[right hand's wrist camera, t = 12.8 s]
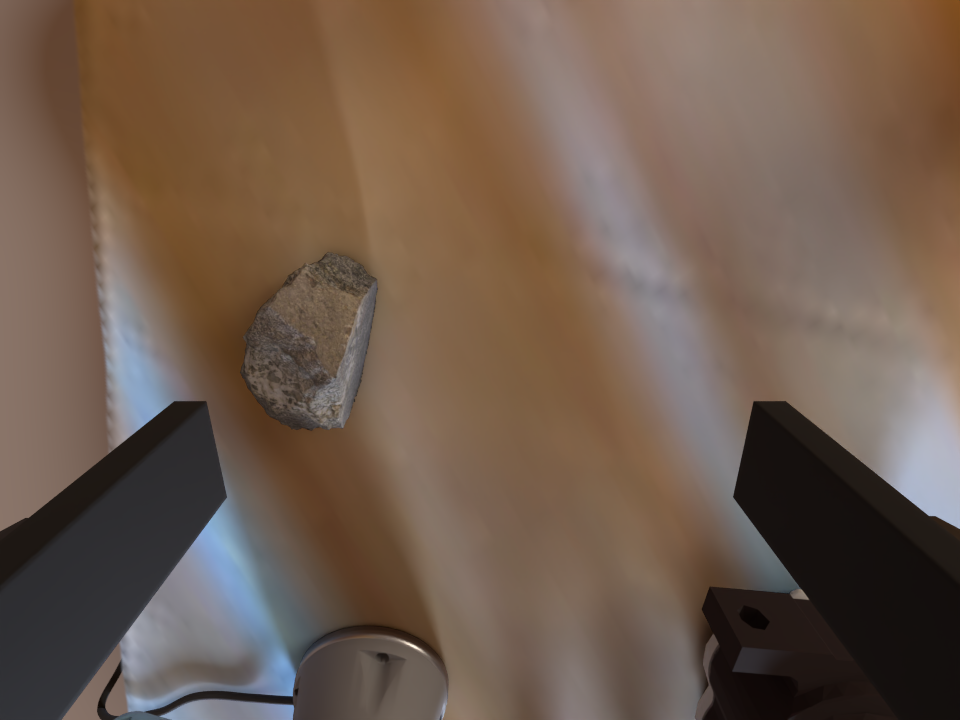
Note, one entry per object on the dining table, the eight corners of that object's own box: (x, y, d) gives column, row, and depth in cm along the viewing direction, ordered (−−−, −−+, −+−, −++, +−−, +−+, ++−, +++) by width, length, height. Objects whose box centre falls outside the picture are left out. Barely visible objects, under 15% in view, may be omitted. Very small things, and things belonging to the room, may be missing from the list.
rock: (352, 425, 42) (329, 469, 36) (245, 399, 41) (203, 440, 35) (385, 265, 37) (365, 285, 31) (265, 233, 37) (220, 247, 31)
